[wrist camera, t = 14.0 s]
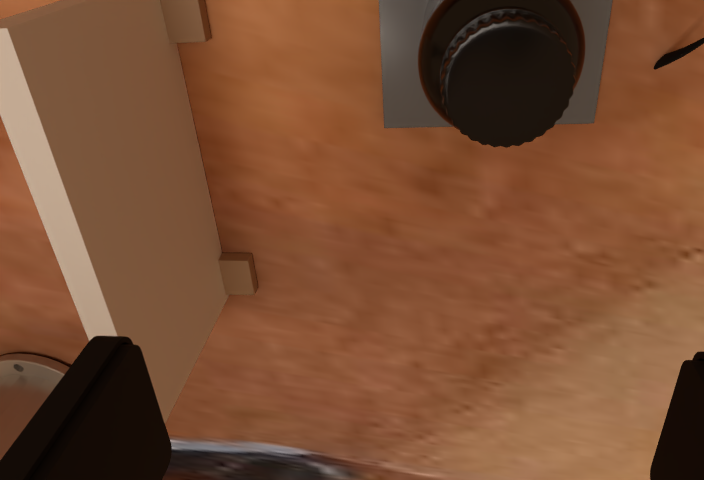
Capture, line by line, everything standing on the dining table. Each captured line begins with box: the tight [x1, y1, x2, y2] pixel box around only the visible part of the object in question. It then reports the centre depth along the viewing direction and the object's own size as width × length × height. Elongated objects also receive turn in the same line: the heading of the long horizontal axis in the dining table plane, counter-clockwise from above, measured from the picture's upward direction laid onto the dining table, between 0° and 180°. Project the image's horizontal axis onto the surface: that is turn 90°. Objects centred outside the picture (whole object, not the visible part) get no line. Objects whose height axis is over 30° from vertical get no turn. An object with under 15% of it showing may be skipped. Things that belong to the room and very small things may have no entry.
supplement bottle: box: [418, 0, 585, 147], centre depth 26 cm, size 7×7×12 cm
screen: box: [0, 0, 258, 423], centre depth 33 cm, size 22×6×14 cm, turn 4°
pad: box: [379, 0, 612, 128], centre depth 31 cm, size 12×12×1 cm
